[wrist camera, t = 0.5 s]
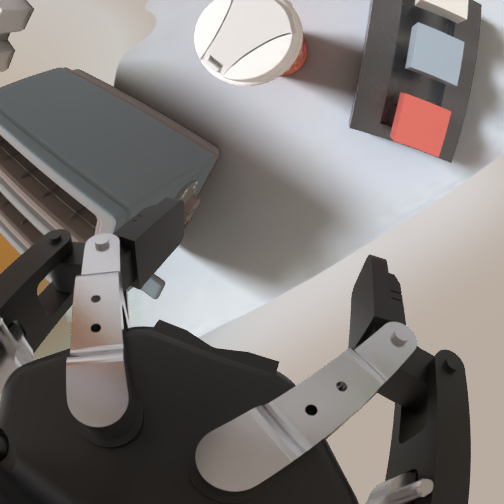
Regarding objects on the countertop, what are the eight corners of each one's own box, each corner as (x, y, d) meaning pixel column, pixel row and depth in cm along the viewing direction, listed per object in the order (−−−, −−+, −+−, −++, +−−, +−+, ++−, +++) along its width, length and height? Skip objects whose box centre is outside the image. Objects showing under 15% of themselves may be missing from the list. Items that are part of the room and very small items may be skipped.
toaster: (196, 259, 49) (127, 351, 32) (55, 156, 46) (-29, 203, 29) (254, 165, 37) (176, 246, 21) (77, 63, 35) (-29, 87, 18)
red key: (395, 91, 24) (405, 93, 20) (434, 106, 23) (451, 111, 19) (385, 131, 26) (393, 141, 22) (424, 145, 26) (438, 157, 22)
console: (374, -25, 20) (377, -37, 16) (468, 10, 18) (481, 4, 14) (348, 123, 31) (349, 127, 28) (440, 154, 29) (451, 162, 26)
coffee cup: (284, 98, 32) (245, 109, 19) (233, 55, 30) (167, 46, 18) (333, 51, 27) (327, 27, 15) (279, 8, 25) (237, -35, 13)
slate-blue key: (406, 31, 20) (418, 22, 16) (446, 47, 19) (464, 42, 15) (399, 69, 22) (410, 66, 18) (439, 84, 22) (457, 86, 18)
